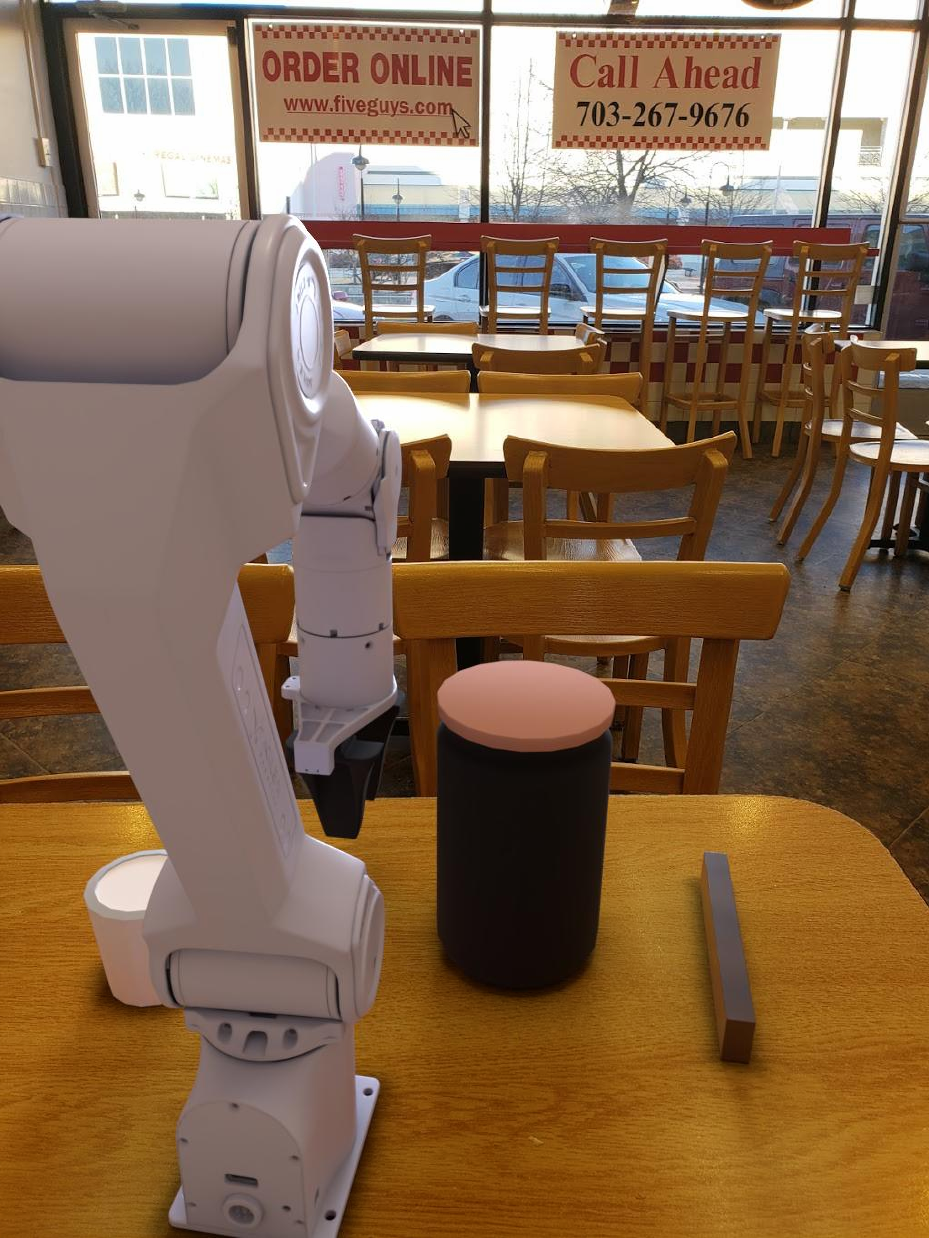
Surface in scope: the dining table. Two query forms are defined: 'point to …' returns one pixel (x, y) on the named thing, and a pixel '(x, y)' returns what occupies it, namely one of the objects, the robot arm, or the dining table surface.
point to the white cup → (125, 923)
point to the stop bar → (726, 961)
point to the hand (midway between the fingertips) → (351, 815)
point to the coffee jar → (521, 819)
